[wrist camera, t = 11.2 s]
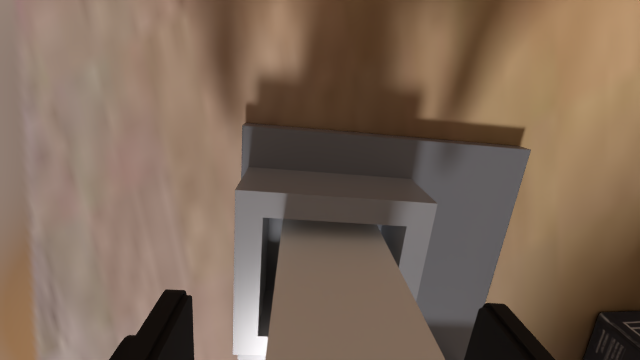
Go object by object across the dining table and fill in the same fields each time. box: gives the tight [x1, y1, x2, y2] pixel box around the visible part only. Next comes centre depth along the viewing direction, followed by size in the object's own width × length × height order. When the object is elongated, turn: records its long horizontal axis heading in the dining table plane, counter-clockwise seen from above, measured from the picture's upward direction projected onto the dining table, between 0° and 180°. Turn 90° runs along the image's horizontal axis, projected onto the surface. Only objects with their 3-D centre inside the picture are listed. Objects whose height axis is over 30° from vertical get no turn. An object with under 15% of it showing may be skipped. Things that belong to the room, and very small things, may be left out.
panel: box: [233, 123, 531, 360], centre depth 16 cm, size 13×22×4 cm, turn 174°
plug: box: [265, 219, 445, 360], centre depth 11 cm, size 4×4×10 cm
